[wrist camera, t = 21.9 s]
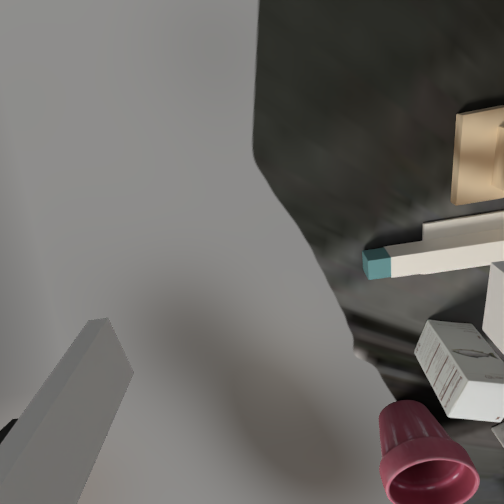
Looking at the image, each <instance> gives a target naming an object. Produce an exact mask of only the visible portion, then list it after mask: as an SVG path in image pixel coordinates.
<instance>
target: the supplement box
mask: <svg viewBox="0 0 504 504" xmlns="http://www.w3.org/2000/svg"><path fill="white" fill-rule="evenodd" d="M414 353H415V355H416V357H417V359H418V361H419V363H420V365H421V367H422V369H423V371H424V373H425V374H426V376H427V378H428V380H429V382H430V384H431V386H432V388H433V389H434V391H435V393H436V395H437V397H438V399H439V401H440V403H441V405H442V406H443V408H444V410H445V412H446V414H447V416H448V417H449V418H459V419H470V420H480V421H490V422H501V421H502V419H503V418H504V362H503V361H502V360H501V359H500V357H499V356H498V355H497V354H496V353H495V351H494V350H493V349H492V348H491V346H490V345H489V344H488V343H487V342H486V340H485V339H484V338H483V337H482V335H481V334H480V333H479V332H478V331H477V329H476V328H475V327H474V326H473V325H472V324H469V323H454V322H445V321H437V320H429V319H428V320H427V322H426V324H425V327H424V329H423V332H422V334H421V336H420V339H419V341H418V344H417V346H416V349H415V351H414Z"/></svg>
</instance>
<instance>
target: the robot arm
mask: <svg viewBox="0 0 504 504" xmlns="http://www.w3.org/2000/svg"><path fill="white" fill-rule="evenodd" d="M482 330H483V331H484V332H485V333H486V335H487V336H488V337H489V338H490V339H491V340H492V342H493V343H494V344H495V345H496V346H497V347H498V349H499V350H500V351H501V352H502V353H503V354H504V261H498V262H491V267H490V274H489V282H488V289H487V297H486V304H485V312H484V319H483V327H482ZM133 374H134V371H133V370H132V367H131V365H130V363H129V361H128V359H127V357H126V355H125V352H124V350H123V348H122V346H121V344H120V342H119V340H118V338H117V335H116V333H115V331H114V329H113V327H112V325H111V323H110V321H109V319H108V318H103V319H96V320H89V321H88V322H87V324H86V325H85V326H84V328H83V329H82V330H81V332H80V333H79V335H78V336H77V337H76V339H75V340H74V342H73V343H72V344H71V346H70V347H69V349H68V350H67V352H66V353H65V354H64V356H63V357H62V359H61V360H60V362H59V363H58V364H57V365H56V367H55V368H54V370H53V371H52V373H51V374H50V376H49V377H48V378H47V380H46V381H45V382H44V384H43V385H42V387H41V388H40V389H39V391H38V392H37V394H36V395H35V396H34V398H33V399H32V401H31V402H30V403H29V405H28V406H27V408H26V409H25V410H24V412H23V413H22V415H21V416H20V417H19V419H12V420H11V421H10V422H9V423H8V424H7V425H6V426H5V427H4V428H3V429H2V430H1V431H0V504H77V502H78V500H79V498H80V495H81V493H82V491H83V489H84V486H85V484H86V482H87V479H88V477H89V475H90V472H91V470H92V468H93V466H94V463H95V461H96V459H97V456H98V454H99V452H100V450H101V447H102V445H103V443H104V440H105V438H106V436H107V434H108V431H109V429H110V427H111V424H112V422H113V420H114V417H115V415H116V413H117V411H118V408H119V406H120V404H121V401H122V399H123V397H124V394H125V392H126V390H127V387H128V385H129V383H130V381H131V378H132V376H133Z"/></svg>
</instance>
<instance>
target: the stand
mask: <svg viewBox="0 0 504 504" xmlns="http://www.w3.org/2000/svg"><path fill="white" fill-rule="evenodd" d="M499 198H504V105H501V106H496V107H490V108H485V109H480V110H475V111H469V112H464V113H459V114H457V115H456V130H455V145H454V159H453V174H452V189H451V202H452V203H453V204H455V205H462V204H468V203H474V202H480V201H487V200H493V199H499Z"/></svg>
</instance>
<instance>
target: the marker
mask: <svg viewBox="0 0 504 504" xmlns="http://www.w3.org/2000/svg"><path fill="white" fill-rule="evenodd" d="M362 257H363V270H364V272H365V274H366V276H367V277H368V279H369V280H372V279H379V278H386V277H391V278H393V277H400V276H407V275H414V274H421V273H428V272H436V271H443V270H450V269H457V268H464V267H471V266H478V265H485V264H491V262H498V261H504V228H503V229H497V230H490V231H484V232H477V233H470V234H464V235H457V236H450V237H444V238H437V239H431V240H424V241H417V242H411V243H404V244H397V245H391V246H384V248H377V249H371V250H364V251H362Z"/></svg>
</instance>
